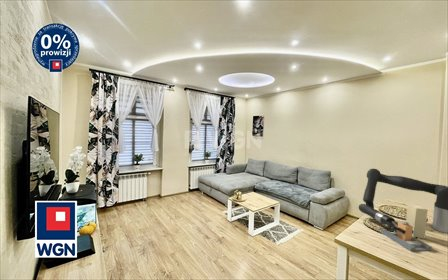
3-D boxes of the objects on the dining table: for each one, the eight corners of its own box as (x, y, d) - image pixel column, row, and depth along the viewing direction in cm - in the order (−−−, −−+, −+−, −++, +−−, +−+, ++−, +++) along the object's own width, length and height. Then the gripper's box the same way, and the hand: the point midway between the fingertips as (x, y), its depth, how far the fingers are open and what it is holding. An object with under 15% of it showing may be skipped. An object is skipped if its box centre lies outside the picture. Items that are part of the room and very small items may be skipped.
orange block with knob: (396, 236, 125) (398, 220, 124) (403, 236, 125) (404, 220, 125) (404, 241, 120) (405, 224, 119) (411, 240, 121) (412, 224, 120)
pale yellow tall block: (426, 238, 126) (429, 209, 124) (413, 237, 127) (416, 208, 126) (416, 232, 133) (419, 204, 132) (404, 231, 135) (407, 203, 134)
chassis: (380, 232, 132) (380, 229, 132) (398, 232, 133) (398, 228, 133) (410, 251, 112) (410, 247, 112) (431, 250, 113) (431, 246, 113)
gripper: (376, 214, 136) (399, 227, 119) (393, 214, 137) (419, 226, 120) (375, 224, 136) (398, 238, 120) (393, 224, 137) (418, 237, 121)
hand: (408, 232), depth 120 cm, fingers closed on orange block with knob, 5 cm apart
